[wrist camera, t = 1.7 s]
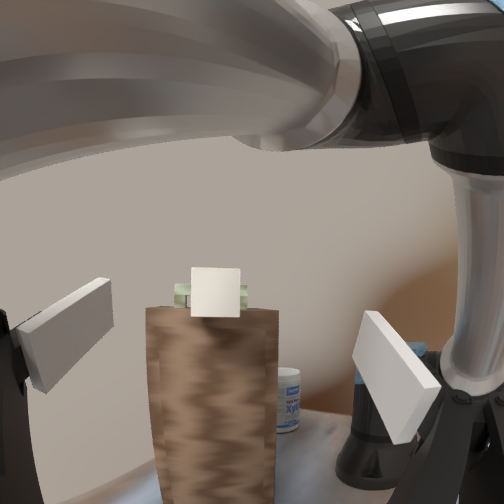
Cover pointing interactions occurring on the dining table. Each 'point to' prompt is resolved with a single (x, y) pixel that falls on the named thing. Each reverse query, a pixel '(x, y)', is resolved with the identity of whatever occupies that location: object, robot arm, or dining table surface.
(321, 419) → the dining table surface
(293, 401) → the supplement tub
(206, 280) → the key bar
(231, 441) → the shelf
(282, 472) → the dining table surface
